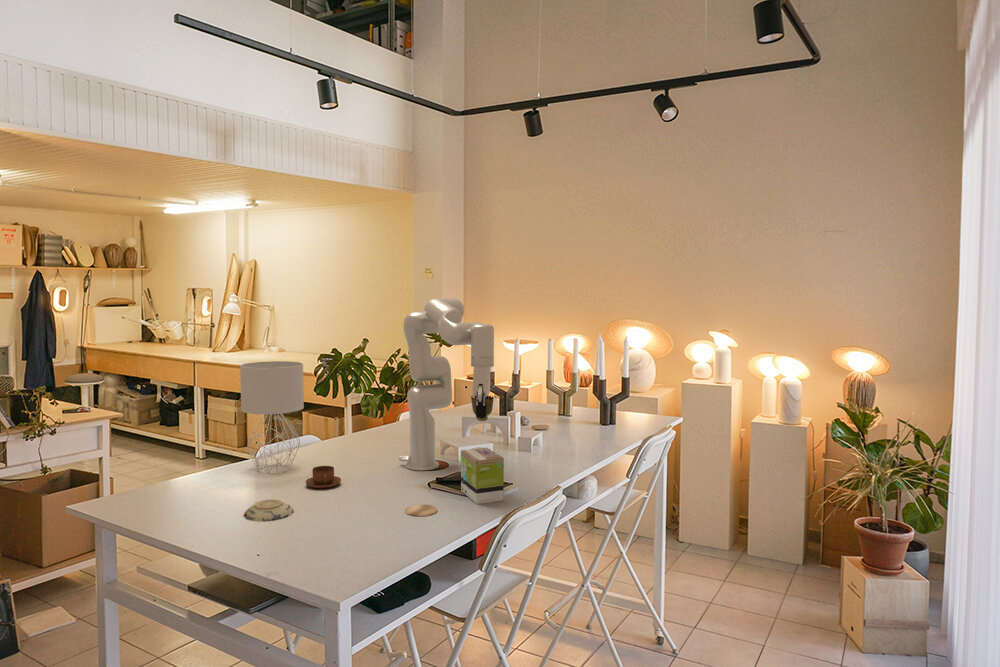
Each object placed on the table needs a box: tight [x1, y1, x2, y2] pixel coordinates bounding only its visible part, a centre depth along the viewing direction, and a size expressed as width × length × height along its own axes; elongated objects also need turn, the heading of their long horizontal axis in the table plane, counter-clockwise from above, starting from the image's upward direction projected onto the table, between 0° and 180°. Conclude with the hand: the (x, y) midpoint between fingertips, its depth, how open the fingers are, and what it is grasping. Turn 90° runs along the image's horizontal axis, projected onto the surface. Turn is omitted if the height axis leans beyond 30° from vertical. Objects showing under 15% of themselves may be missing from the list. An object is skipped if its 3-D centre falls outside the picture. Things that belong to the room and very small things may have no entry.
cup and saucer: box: [305, 465, 342, 489], centre depth 246 cm, size 12×12×6 cm
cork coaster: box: [404, 503, 438, 517], centre depth 219 cm, size 10×10×1 cm
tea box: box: [460, 447, 505, 505], centre depth 233 cm, size 15×10×15 cm, turn 23°
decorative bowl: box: [242, 498, 295, 523], centre depth 215 cm, size 15×4×15 cm
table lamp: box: [239, 360, 305, 475], centre depth 265 cm, size 22×22×40 cm
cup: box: [470, 395, 494, 422], centre depth 232 cm, size 8×7×8 cm
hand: (482, 415), depth 232 cm, fingers closed on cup, 7 cm apart
